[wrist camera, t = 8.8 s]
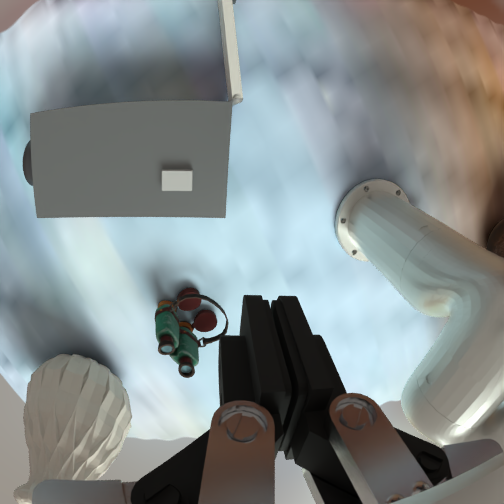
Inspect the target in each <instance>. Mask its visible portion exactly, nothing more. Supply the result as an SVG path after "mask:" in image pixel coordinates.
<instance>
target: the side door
mask: <svg viewBox="0 0 504 504" xmlns="http://www.w3.org/2000/svg"><path fill="white" fill-rule="evenodd" d="M235 2H236V0H218V8H219V18H220V28H221V37H222V47H223V56H224V66H225V75H226V84H227V94H228V101H229V102H232V105H236V104H238V103H240V102H242V100H243V95H242V86H241V76H240V67H239V57H238V48H237V39H236V30H235V20H234V11H233V4H235Z"/></svg>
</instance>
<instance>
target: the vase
mask: <svg viewBox="0 0 504 504" xmlns="http://www.w3.org/2000/svg"><path fill="white" fill-rule="evenodd" d="M131 418H132V414H131V408H130V401H129V397H128V394H127V392H126V389H125V388H124V387H123V386H122V381H121V380H120V379H119V378H118V377H117V376H116V375H115V374H113V373H111V372H110V369H108V368H107V367H106V366H104V365H102V364H98V362H97V361H95V360H92V359H91V358H85V357H83V356H81V355H78V354H77V355H75V354H73V355H72V356H71V355H68V354H60V355H57V356H56V357H55V358H51V359H49V360H47V361H46V362H44V363H43V364H42V365H41V366H40V367H39V368H38V369H37V370H36V371H35V372H34V373H33V374H32V375H31V381H30V382H29V383H28V387H27V399H26V404H25V407H24V417H23V419H24V425H25V438H26V443H27V446H28V449H29V463H30V476H29V481H28V482H27V483H26V484H24V485H21V486H19V487H18V488H17V489H15V490H14V498H15V500H16V501H17V503H20V504H32V494H33V490H34V489H35V487H36V486H37V484H39V483H40V482H42V481H44V480H50V479H59V480H98V479H99V477H101V476H102V475H103V474H104V473H105V472H106V471H107V470H108V468H109V466H110V465H111V464H112V462H113V461H114V460H115V459H116V458H117V456H118V454H119V453H120V451H121V448H122V444H123V441H124V439H125V438H126V436H127V434H128V432H129V430H130V428H131V422H130V420H131Z"/></svg>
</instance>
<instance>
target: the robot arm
mask: <svg viewBox="0 0 504 504" xmlns="http://www.w3.org/2000/svg"><path fill="white" fill-rule="evenodd" d="M364 187H365V188H364ZM341 219H342V220H341ZM335 230H336V236H337V239H338V242H339V244H340V245H341V247H342V248H343V249H344V250H345V252H346V253H347V254H348V255H350V256H351V257H353V258H355V259H357V260H360V261H370V262H371V263H372V264H373V265H374V266H375V267H376V269H377V270H378V271H379V272H380V273H381V274H382V275H383V276H384V277H385V278H386V279H387V280H388V281H389V282H390V283H391V284H392V286H393V287H394V288H395V289H396V290H397V291H398V292H399V293H400V294H401V295H402V296H403V298H404V299H405V300H406V301H407V302H408V303H409V304H410V305H411V306H412V307H413V308H414V309H415V310H417V311H418V312H420V313H422V314H424V315H427V316H431V317H449V319H448V321H447V323H446V325H445V326H444V328H443V330H442V331H441V334H440V336H439V337H438V339H437V340H436V342H435V343H434V344H433V346H432V347H431V349H430V350H429V352H428V353H427V354H426V356H425V357H424V359H423V360H422V361H421V363H420V364H419V366H418V367H417V368H416V370H415V371H414V372H413V374H412V375H411V377H410V378H409V379H408V381H407V383H406V385H405V387H404V389H403V392H402V397H401V404H402V409H403V412H404V414H405V416H406V418H407V420H408V421H409V422H410V424H411V425H412V426H413V427H414V428H415V429H416V430H417V431H418V432H419V433H420V434H422V435H423V436H424V437H426V438H427V439H429V440H430V441H432V442H434V443H435V444H437V445H439V446H441V447H442V448H439V447H437V446H436V445H433V444H431V443H429V442H427V441H424V440H422V439H419V438H417V437H415V436H412V435H410V434H408V433H406V432H403V431H401V430H399V429H397V428H394V427H393V426H392V424H391V423H390V421H389V420H388V418H387V417H386V415H385V414H384V413H383V412H382V410H381V408H380V407H379V406H378V404H377V403H376V402H375V401H374V400H372V399H371V398H369V397H368V396H365V395H362V394H358V393H347V392H346V390H345V388H344V385H343V383H342V381H341V379H340V376H339V374H338V372H337V369H336V367H335V365H334V363H333V360H332V358H331V356H330V353H329V351H328V349H327V347H326V344H325V342H324V340H323V338H322V337H321V336H320V335H313V334H312V332H311V329H310V327H309V324H308V322H307V320H306V317H305V315H304V313H303V310H302V308H301V305H300V303H299V301H298V298H297V297H296V296H279V297H278V299H277V300H272V303H271V309H270V305H269V302H268V300H263V299H262V296H261V295H244V297H243V305H242V315H241V325H240V336H230V335H220V338H219V396H220V407H219V408H218V409H217V410H216V412H215V413H214V415H213V418H212V421H211V427H210V429H209V430H208V431H207V432H205V433H204V434H203V435H202V436H200V437H199V438H198V439H196V440H195V441H194V442H192V443H191V444H189V445H188V446H187V447H185V448H184V449H183V450H181V451H180V452H179V453H177V454H176V455H174V456H173V457H171V458H170V459H169V460H167V461H166V462H164V463H163V464H162V465H160V466H158V467H157V468H156V469H154V470H153V471H151V472H150V473H148V474H147V475H145V476H144V477H142V478H141V479H140V480H139V481H137V482H122V481H121V480H59V479H50V480H44V481H42V482H40V483H39V484H37V486H36V487H35V489H34V490H33V494H32V504H275V458H276V455H277V453H278V451H284V454H285V458H286V460H289V459H294V461H295V464H297V465H299V466H301V467H302V472H303V475H304V478H305V480H306V482H307V484H308V487H309V489H310V491H311V494H312V496H313V498H314V500H315V502H316V504H504V258H503V257H500V256H498V255H496V254H494V253H492V252H490V251H488V250H486V249H484V248H483V247H481V246H480V245H478V244H476V243H474V242H473V241H471V240H469V239H468V238H466V237H464V236H463V235H461V234H460V233H458V232H456V231H455V230H453V229H451V228H450V227H448V226H447V225H445V224H443V223H442V222H440V221H438V220H437V219H435V218H433V217H432V216H430V215H428V214H426V213H425V212H423V211H421V210H420V209H418V208H416V207H414V206H413V205H411V204H410V203H409V200H408V198H407V196H406V194H405V193H404V191H403V190H402V189H401V188H400V187H399V186H398V185H396V184H394V183H392V182H390V181H387V180H384V179H370V180H367V181H364V182H362V183H360V184H358V185H357V186H355V187H354V188H353V189H352V190H350V191H349V193H348V194H347V195H346V196H345V197H344V199H343V201H342V202H341V204H340V206H339V209H338V211H337V215H336V220H335Z"/></svg>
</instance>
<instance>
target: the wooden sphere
mask: <svg viewBox="0 0 504 504" xmlns="http://www.w3.org/2000/svg"><path fill="white" fill-rule="evenodd" d="M486 250H488V251H490V252H492V253H494V254H496V255H498V256H500V257H503V258H504V219H502V220H501V221H500V222H499V223H498V224H497V225H496V226H495V227H494V229H493V230H492V232H491V234H490V236H489V239H488V242H487V247H486Z"/></svg>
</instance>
